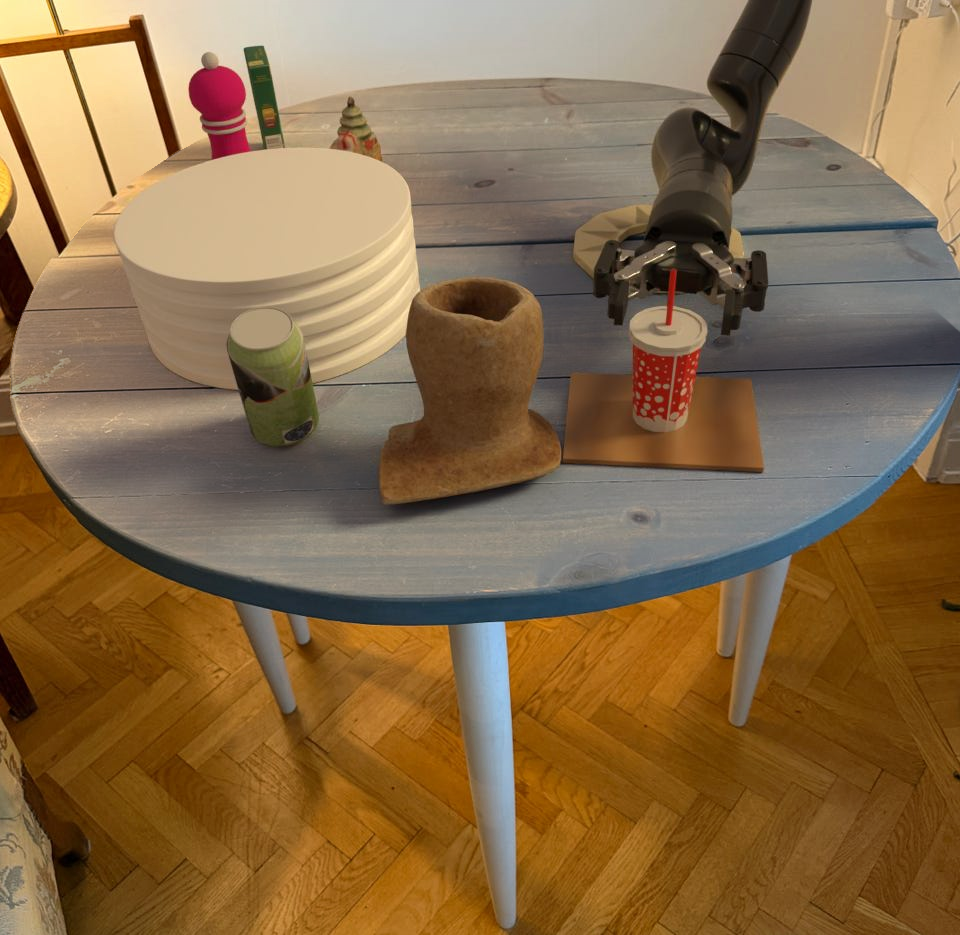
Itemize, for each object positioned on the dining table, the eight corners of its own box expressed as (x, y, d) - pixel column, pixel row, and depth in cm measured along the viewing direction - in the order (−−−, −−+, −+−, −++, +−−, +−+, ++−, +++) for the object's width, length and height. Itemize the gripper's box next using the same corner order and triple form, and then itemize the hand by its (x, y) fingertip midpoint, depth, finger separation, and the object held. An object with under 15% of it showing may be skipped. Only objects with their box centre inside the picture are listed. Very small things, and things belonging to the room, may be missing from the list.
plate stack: (98, 380, 88) (56, 273, 81) (212, 239, 109) (187, 144, 101) (382, 400, 84) (365, 289, 76) (445, 249, 104) (437, 150, 97)
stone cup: (537, 401, 83) (534, 249, 73) (574, 489, 74) (577, 329, 64) (367, 430, 81) (342, 277, 71) (385, 523, 72) (358, 364, 62)
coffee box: (289, 164, 124) (270, 62, 116) (268, 167, 124) (246, 66, 115) (283, 142, 130) (264, 43, 121) (263, 145, 130) (242, 46, 121)
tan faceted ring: (735, 213, 107) (736, 205, 107) (748, 295, 94) (749, 286, 93) (578, 211, 110) (578, 203, 109) (569, 291, 96) (569, 282, 96)
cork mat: (750, 383, 83) (751, 378, 83) (763, 472, 74) (764, 467, 74) (570, 376, 85) (571, 372, 85) (562, 463, 76) (562, 458, 76)
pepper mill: (207, 227, 111) (160, 54, 98) (258, 207, 115) (220, 37, 102) (237, 247, 107) (193, 69, 94) (290, 226, 111) (255, 50, 97)
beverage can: (307, 401, 84) (281, 285, 76) (336, 445, 79) (313, 326, 71) (240, 424, 82) (207, 307, 74) (266, 471, 77) (234, 352, 69)
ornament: (371, 191, 117) (360, 111, 110) (324, 190, 118) (311, 110, 111) (387, 164, 122) (378, 87, 116) (342, 163, 123) (331, 87, 117)
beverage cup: (687, 391, 82) (704, 247, 72) (703, 435, 77) (724, 287, 68) (617, 396, 82) (626, 253, 72) (630, 440, 77) (640, 293, 68)
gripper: (613, 183, 85) (584, 272, 73) (775, 193, 82) (772, 287, 70) (610, 257, 90) (582, 351, 78) (763, 269, 87) (757, 368, 75)
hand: (672, 321), depth 74 cm, fingers open, 8 cm apart
